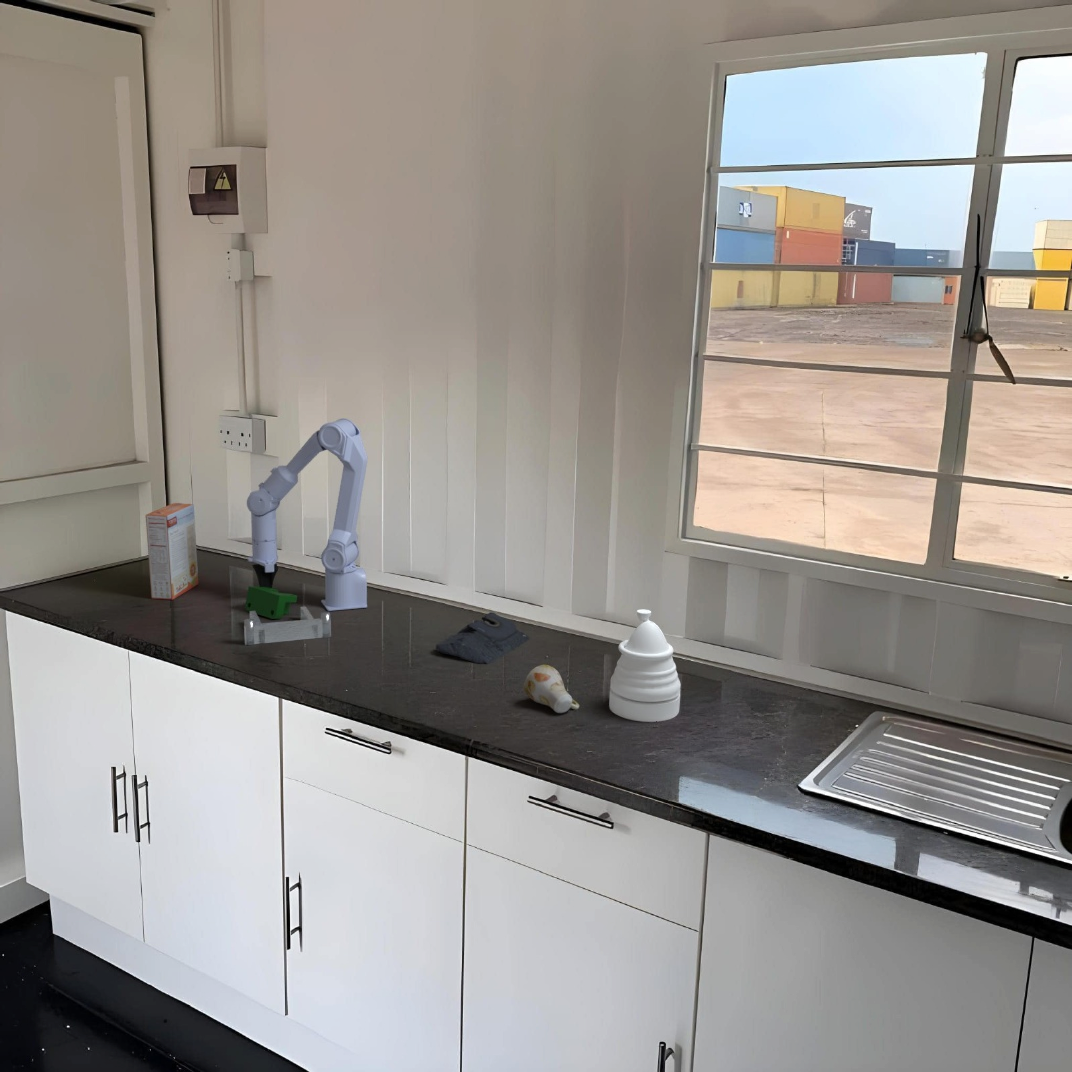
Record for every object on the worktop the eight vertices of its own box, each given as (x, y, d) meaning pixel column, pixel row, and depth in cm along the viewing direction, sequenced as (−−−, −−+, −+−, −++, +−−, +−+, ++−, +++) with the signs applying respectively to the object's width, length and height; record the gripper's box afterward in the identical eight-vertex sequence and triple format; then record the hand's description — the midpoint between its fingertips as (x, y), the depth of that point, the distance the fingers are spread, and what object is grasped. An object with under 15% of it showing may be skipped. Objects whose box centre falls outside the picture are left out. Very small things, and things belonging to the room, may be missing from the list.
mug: (554, 722, 184) (532, 670, 185) (534, 725, 193) (513, 676, 193) (588, 705, 187) (567, 654, 188) (567, 709, 196) (546, 661, 197)
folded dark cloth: (423, 655, 216) (423, 634, 215) (474, 627, 235) (474, 607, 234) (487, 668, 210) (488, 646, 209) (534, 638, 229) (535, 618, 228)
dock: (318, 617, 237) (317, 596, 236) (331, 637, 224) (331, 614, 223) (237, 625, 230) (236, 602, 229) (245, 645, 217) (244, 621, 216)
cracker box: (176, 583, 261) (172, 502, 256) (199, 585, 260) (195, 503, 255) (148, 599, 247) (144, 513, 243) (172, 600, 246) (168, 514, 242)
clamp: (287, 633, 239) (303, 600, 237) (266, 633, 235) (283, 600, 232) (261, 603, 246) (276, 571, 243) (240, 602, 241) (256, 570, 239)
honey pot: (597, 699, 194) (601, 607, 190) (656, 691, 199) (662, 601, 195) (629, 726, 183) (635, 628, 178) (692, 716, 188) (698, 621, 184)
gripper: (243, 533, 251) (244, 587, 254) (251, 547, 238) (253, 603, 241) (272, 531, 254) (274, 585, 257) (282, 545, 241) (283, 601, 244)
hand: (266, 593), depth 249 cm, fingers closed
